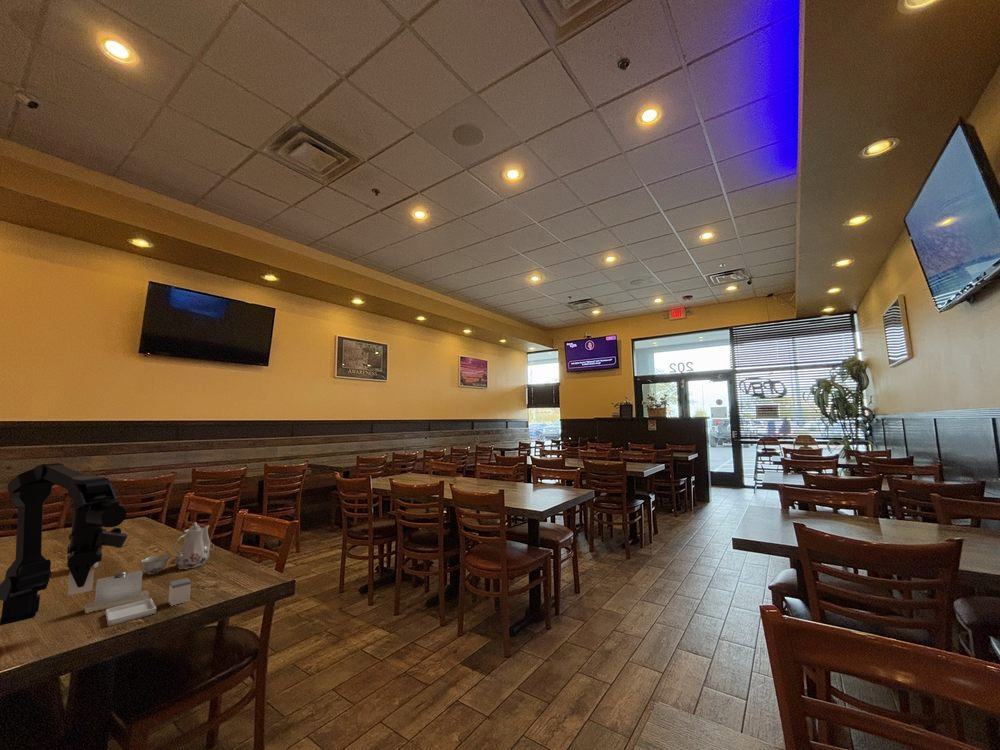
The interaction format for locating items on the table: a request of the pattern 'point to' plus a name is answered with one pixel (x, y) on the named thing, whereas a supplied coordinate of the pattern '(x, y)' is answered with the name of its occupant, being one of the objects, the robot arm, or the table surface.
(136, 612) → the tray
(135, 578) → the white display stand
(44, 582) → the robot arm
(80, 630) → the table surface
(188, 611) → the table surface
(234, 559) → the table surface
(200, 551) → the chinaware
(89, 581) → the amber cartridge
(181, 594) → the grey cartridge
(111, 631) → the table surface
